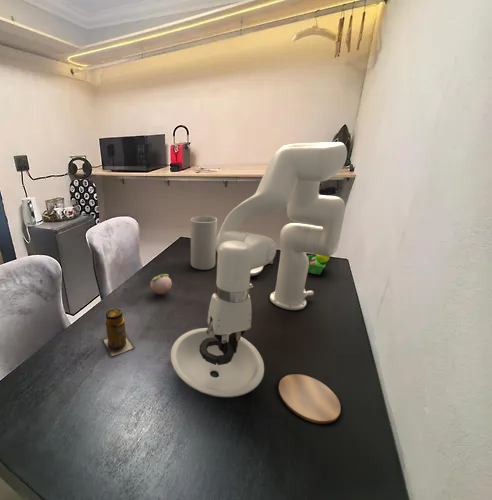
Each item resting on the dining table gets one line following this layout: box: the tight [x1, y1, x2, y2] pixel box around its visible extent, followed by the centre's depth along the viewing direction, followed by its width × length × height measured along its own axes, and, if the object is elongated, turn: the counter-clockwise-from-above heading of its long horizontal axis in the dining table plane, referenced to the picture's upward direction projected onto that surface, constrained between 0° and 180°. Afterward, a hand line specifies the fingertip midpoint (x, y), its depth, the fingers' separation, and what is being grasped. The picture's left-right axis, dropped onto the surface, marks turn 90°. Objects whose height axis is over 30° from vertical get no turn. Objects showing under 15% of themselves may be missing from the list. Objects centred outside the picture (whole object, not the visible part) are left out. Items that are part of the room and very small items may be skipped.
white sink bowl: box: [170, 327, 265, 398], centre depth 72 cm, size 24×24×7 cm
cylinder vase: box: [190, 215, 218, 271], centre depth 134 cm, size 12×12×25 cm
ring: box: [199, 337, 234, 365], centre depth 70 cm, size 8×8×2 cm
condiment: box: [103, 308, 134, 357], centre depth 84 cm, size 7×8×12 cm
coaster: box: [277, 373, 342, 425], centre depth 65 cm, size 13×13×1 cm
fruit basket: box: [307, 254, 331, 276], centre depth 123 cm, size 11×9×11 cm
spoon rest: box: [250, 259, 274, 277], centre depth 128 cm, size 24×12×7 cm, turn 127°
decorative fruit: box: [150, 273, 173, 295], centre depth 112 cm, size 9×8×10 cm
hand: (227, 350), depth 71 cm, fingers closed on ring, 2 cm apart
